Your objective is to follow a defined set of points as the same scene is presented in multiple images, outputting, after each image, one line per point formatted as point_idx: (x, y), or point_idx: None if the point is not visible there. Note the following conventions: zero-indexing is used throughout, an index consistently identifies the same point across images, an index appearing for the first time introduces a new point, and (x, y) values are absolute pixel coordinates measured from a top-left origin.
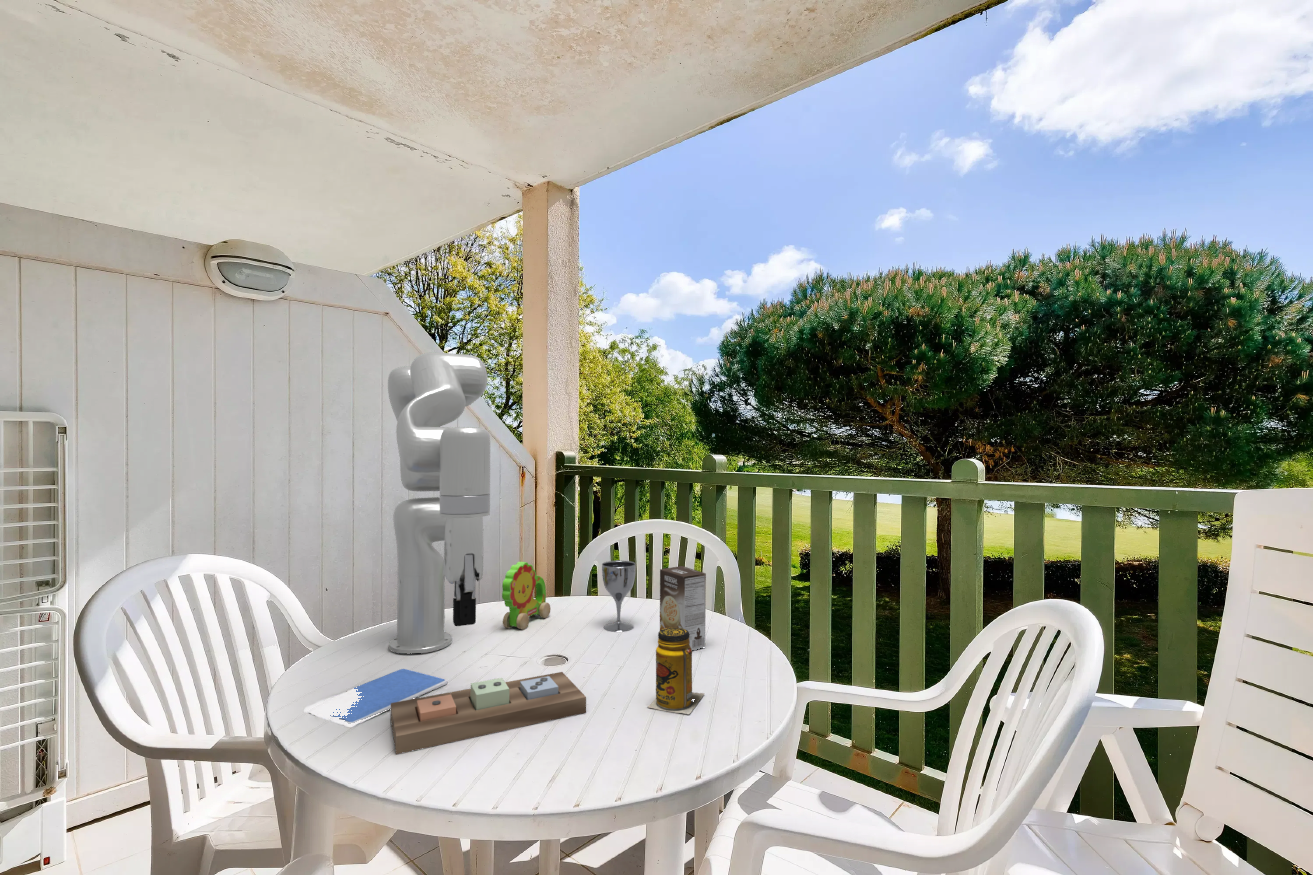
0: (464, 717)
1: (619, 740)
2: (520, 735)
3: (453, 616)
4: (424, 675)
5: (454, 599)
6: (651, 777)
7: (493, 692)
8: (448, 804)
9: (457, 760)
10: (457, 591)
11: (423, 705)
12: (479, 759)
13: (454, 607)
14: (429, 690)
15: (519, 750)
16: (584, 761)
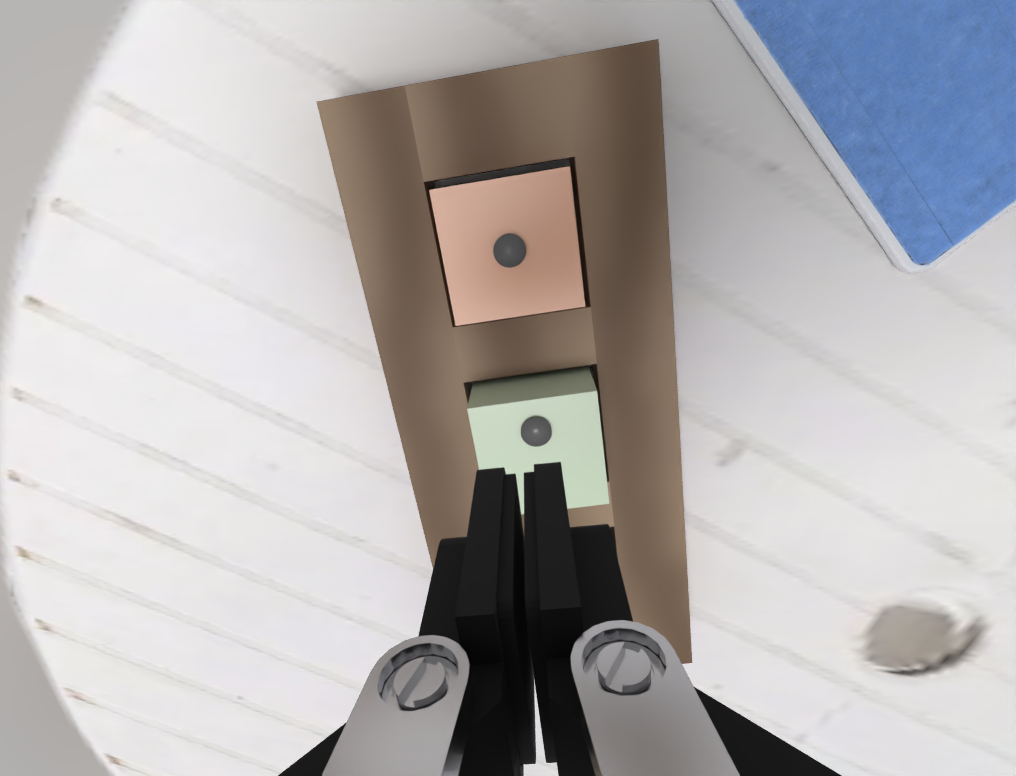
0: (415, 347)
1: (292, 680)
2: (375, 482)
3: (534, 492)
4: None
5: (539, 613)
6: (120, 694)
7: (478, 465)
8: (33, 286)
9: (261, 309)
10: (326, 768)
11: (506, 197)
12: (256, 369)
13: (464, 562)
14: (854, 201)
15: (288, 471)
16: (205, 598)
